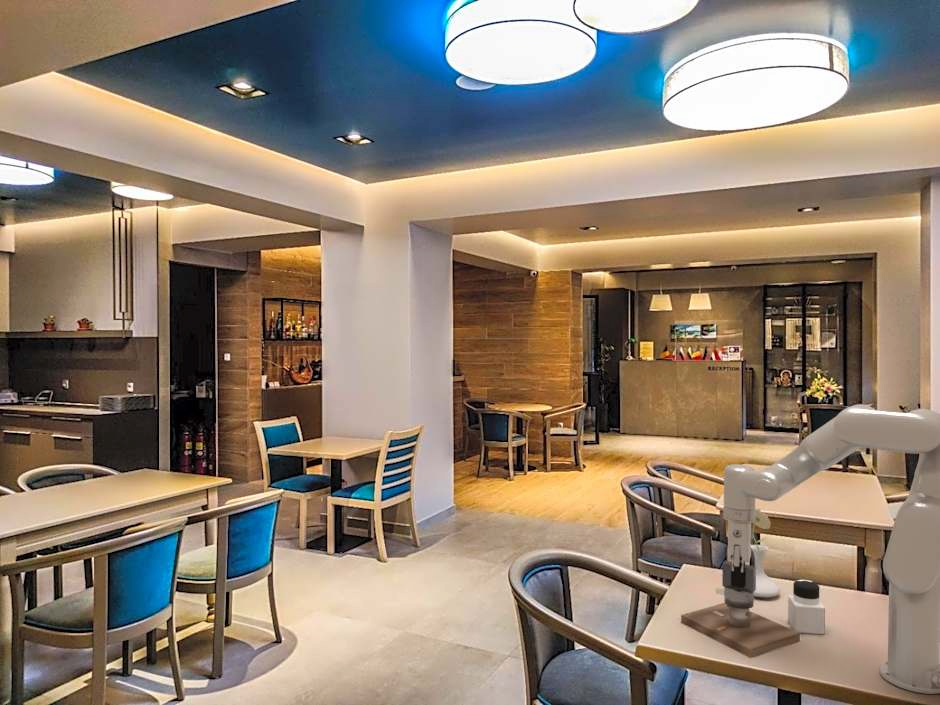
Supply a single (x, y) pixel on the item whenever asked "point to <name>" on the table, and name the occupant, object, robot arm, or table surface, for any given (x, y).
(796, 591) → the medicine bottle
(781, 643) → the brown wooden board
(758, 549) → the flower in vase
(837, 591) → the table surface
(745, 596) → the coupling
